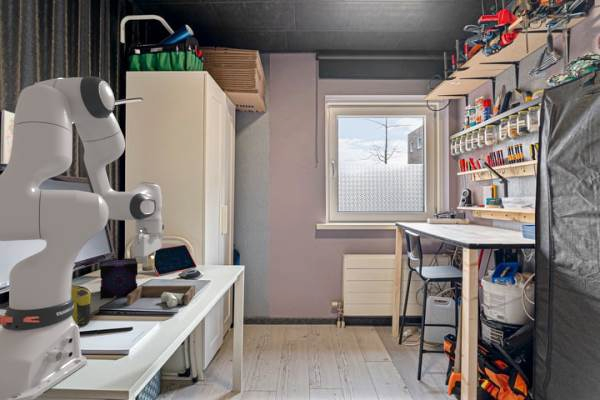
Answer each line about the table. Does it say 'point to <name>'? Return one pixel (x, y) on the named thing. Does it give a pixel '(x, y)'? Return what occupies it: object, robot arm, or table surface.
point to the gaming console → (81, 305)
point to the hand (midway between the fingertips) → (148, 265)
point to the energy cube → (118, 277)
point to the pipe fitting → (172, 299)
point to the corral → (161, 292)
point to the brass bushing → (151, 264)
